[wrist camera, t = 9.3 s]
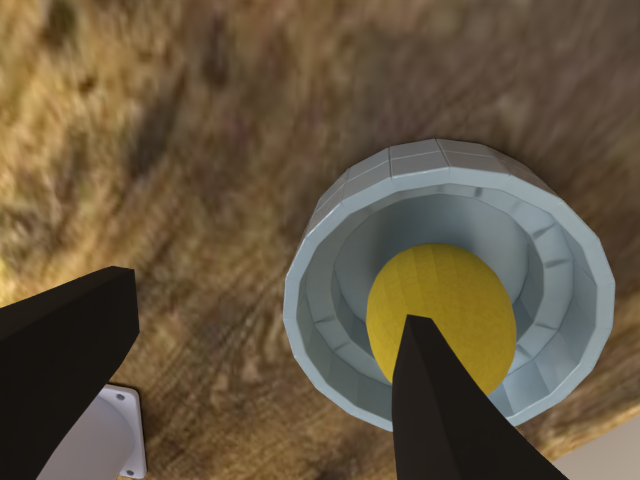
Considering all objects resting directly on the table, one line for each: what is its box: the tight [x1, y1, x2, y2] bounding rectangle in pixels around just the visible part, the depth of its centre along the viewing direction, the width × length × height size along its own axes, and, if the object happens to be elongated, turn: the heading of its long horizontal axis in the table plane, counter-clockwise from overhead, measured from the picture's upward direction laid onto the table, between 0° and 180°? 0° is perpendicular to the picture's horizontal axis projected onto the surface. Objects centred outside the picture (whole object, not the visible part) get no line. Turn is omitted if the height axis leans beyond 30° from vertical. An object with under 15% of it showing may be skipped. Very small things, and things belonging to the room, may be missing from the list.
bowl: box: [283, 139, 615, 432], centre depth 19 cm, size 12×12×5 cm
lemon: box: [366, 243, 516, 396], centre depth 17 cm, size 6×6×8 cm
